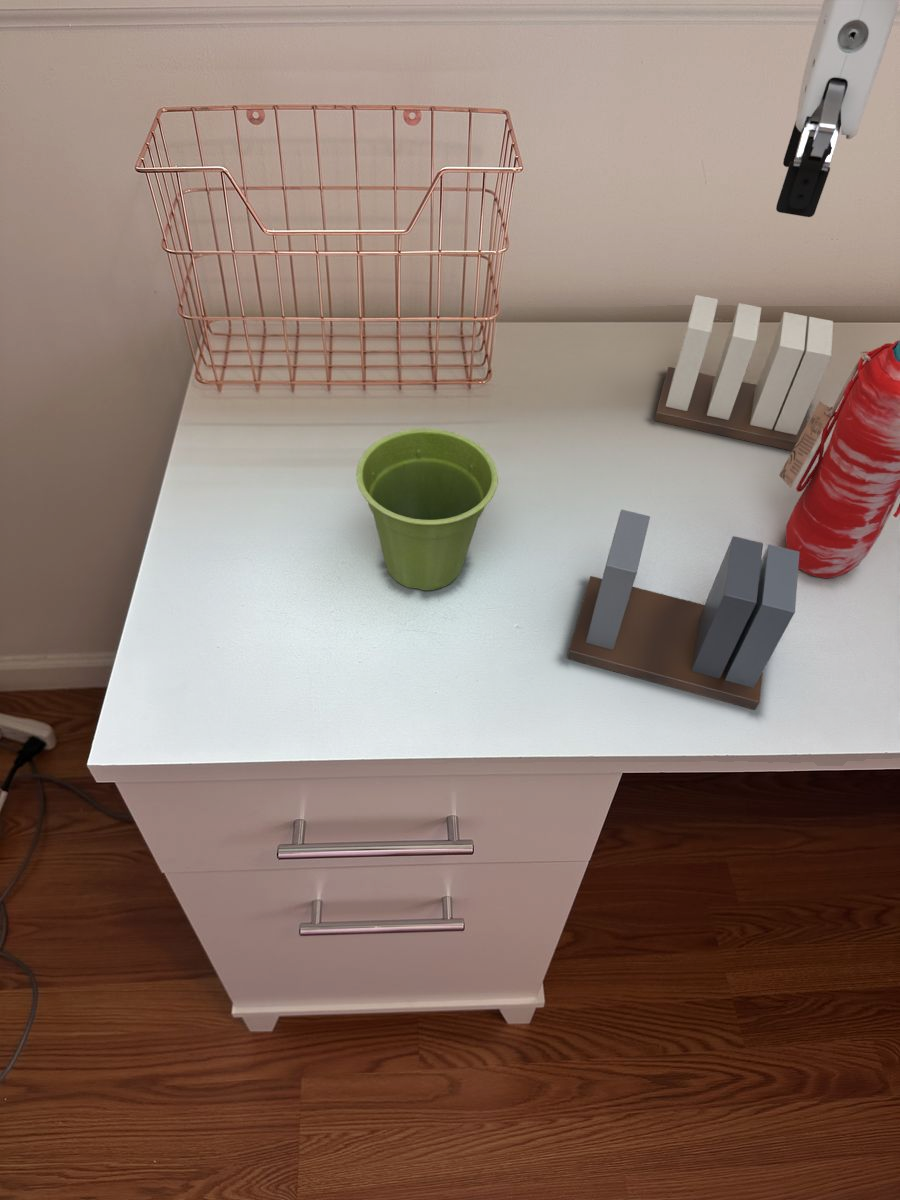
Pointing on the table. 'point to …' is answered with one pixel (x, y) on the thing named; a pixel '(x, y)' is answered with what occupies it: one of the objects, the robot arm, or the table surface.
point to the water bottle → (848, 469)
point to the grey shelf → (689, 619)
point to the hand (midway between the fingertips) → (797, 189)
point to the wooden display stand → (758, 409)
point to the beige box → (734, 361)
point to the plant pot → (426, 501)
